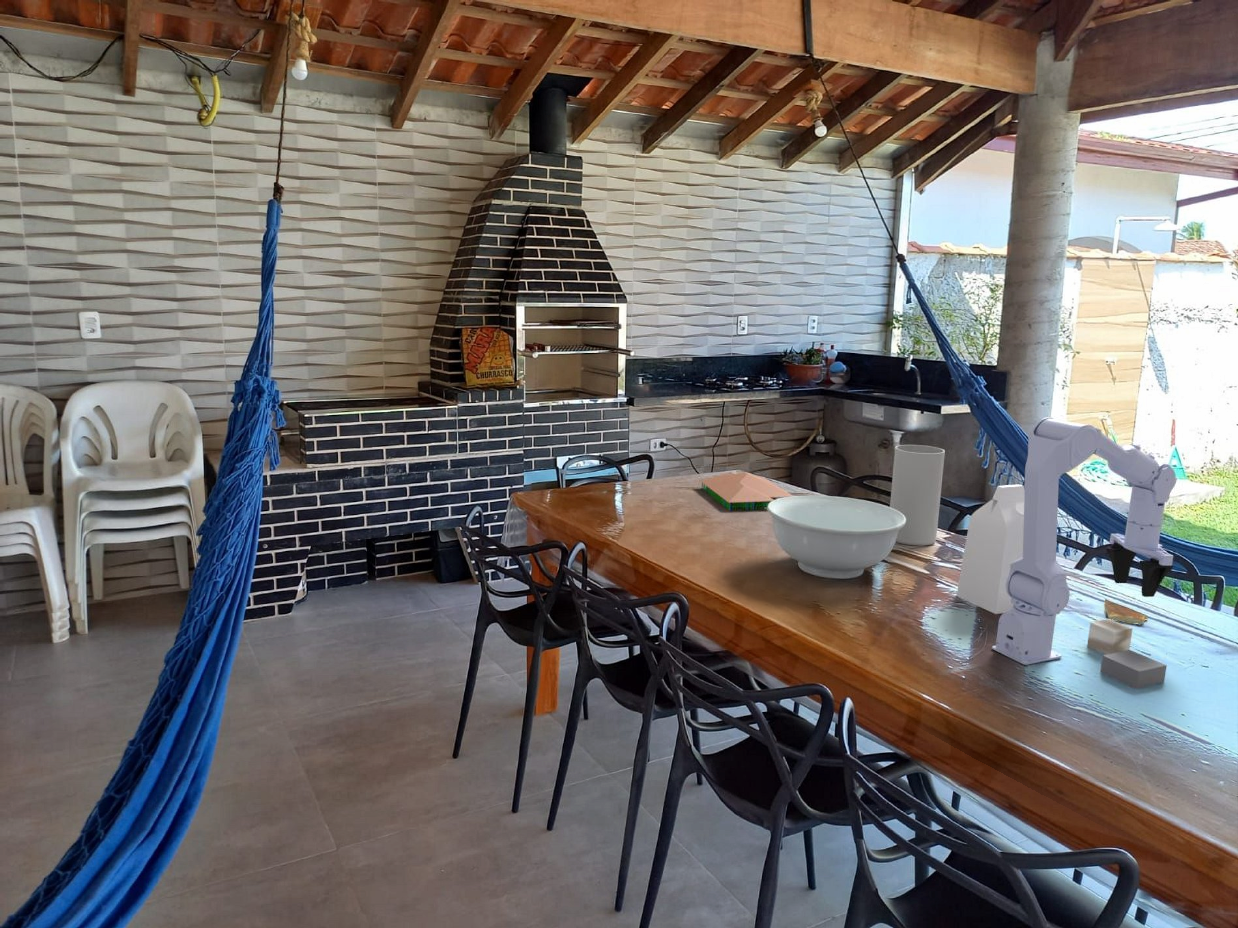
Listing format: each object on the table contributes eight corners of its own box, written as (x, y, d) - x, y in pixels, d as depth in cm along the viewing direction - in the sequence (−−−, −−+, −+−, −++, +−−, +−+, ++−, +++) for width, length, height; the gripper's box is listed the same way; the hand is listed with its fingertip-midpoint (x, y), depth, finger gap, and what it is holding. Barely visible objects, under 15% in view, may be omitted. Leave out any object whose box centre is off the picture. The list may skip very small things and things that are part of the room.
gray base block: (1136, 690, 150) (1139, 671, 149) (1100, 673, 156) (1102, 655, 155) (1163, 683, 152) (1166, 665, 152) (1127, 667, 159) (1129, 649, 158)
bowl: (917, 564, 214) (922, 507, 211) (876, 602, 188) (882, 537, 185) (794, 541, 232) (797, 488, 229) (741, 573, 205) (744, 513, 202)
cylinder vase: (888, 544, 231) (896, 451, 226) (886, 531, 243) (893, 443, 238) (938, 548, 228) (947, 455, 223) (933, 535, 240) (942, 446, 235)
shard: (1104, 605, 191) (1105, 597, 190) (1144, 611, 187) (1145, 603, 187) (1106, 621, 181) (1107, 613, 181) (1148, 628, 178) (1150, 620, 177)
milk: (998, 589, 197) (1011, 478, 192) (1038, 607, 187) (1053, 490, 182) (956, 595, 193) (968, 481, 188) (995, 614, 183) (1009, 494, 177)
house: (760, 485, 297) (761, 462, 295) (799, 510, 265) (801, 484, 264) (696, 487, 292) (697, 463, 291) (728, 512, 261) (729, 486, 259)
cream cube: (1110, 656, 163) (1114, 631, 162) (1087, 646, 167) (1090, 622, 166) (1128, 653, 165) (1132, 628, 164) (1105, 642, 169) (1108, 618, 168)
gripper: (1192, 532, 161) (1180, 601, 164) (1136, 512, 175) (1126, 576, 178) (1157, 533, 160) (1146, 602, 163) (1104, 512, 174) (1095, 577, 177)
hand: (1133, 589), depth 170 cm, fingers open, 7 cm apart
